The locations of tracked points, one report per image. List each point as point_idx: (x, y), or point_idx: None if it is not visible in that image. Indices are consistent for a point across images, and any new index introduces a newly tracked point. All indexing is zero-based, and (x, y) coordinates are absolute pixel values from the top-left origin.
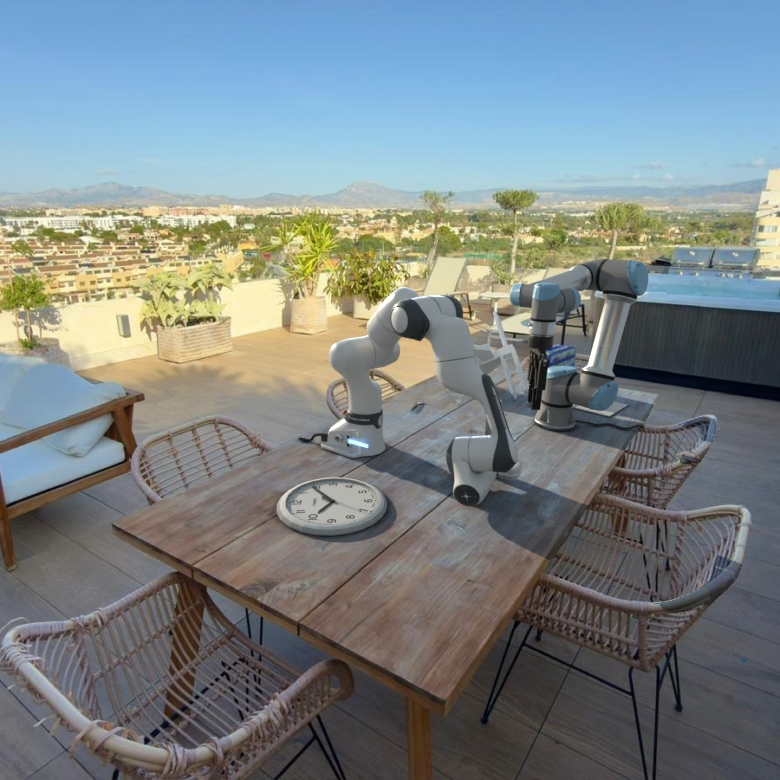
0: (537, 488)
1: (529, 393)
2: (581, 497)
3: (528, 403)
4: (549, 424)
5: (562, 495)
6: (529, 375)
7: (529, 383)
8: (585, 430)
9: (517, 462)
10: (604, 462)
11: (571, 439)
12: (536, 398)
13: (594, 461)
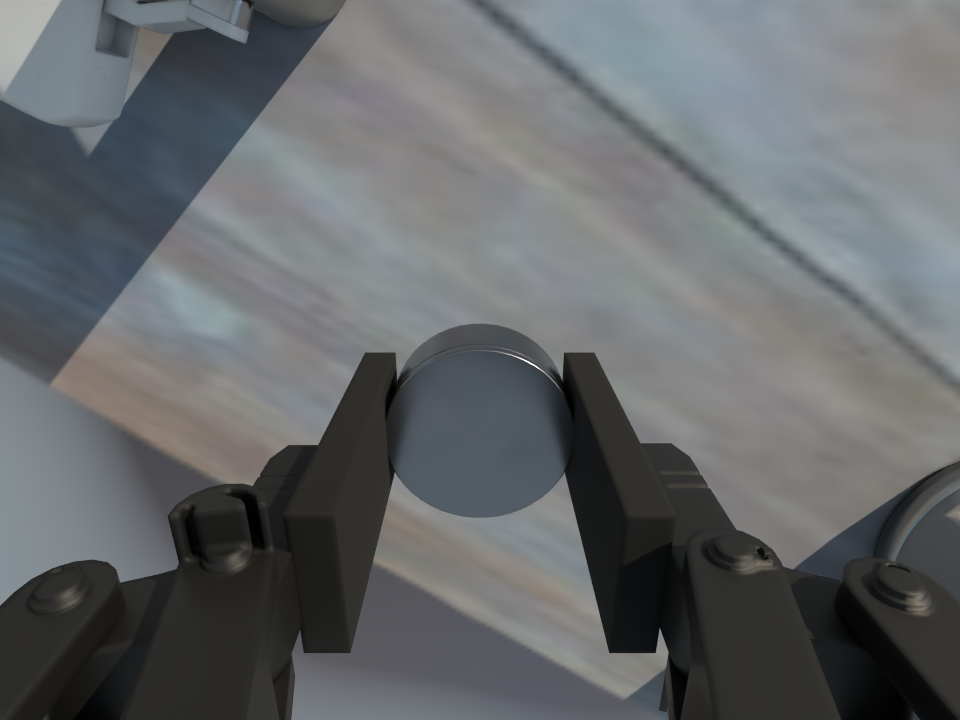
0: (150, 221)
1: (592, 439)
2: (106, 403)
3: (435, 350)
4: (935, 511)
5: (103, 325)
6: (924, 702)
7: (687, 544)
8: None
9: (16, 78)
10: (482, 604)
11: None
12: (263, 471)
13: (492, 571)
